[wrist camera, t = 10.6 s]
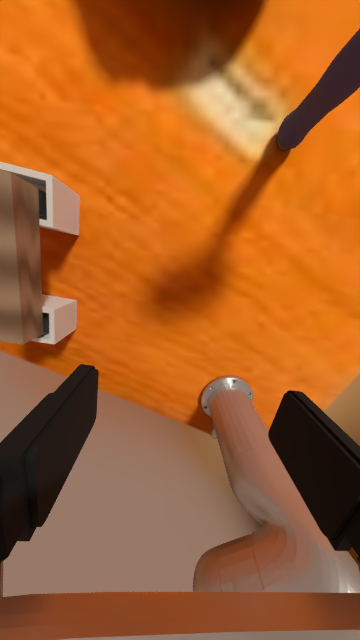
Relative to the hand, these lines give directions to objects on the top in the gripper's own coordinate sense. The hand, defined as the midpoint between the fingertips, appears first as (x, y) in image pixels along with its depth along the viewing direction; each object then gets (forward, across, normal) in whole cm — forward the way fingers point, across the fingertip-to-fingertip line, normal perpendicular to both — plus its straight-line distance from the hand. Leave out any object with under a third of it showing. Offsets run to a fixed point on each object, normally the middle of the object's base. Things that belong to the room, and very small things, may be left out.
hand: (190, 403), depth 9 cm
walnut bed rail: (+23, +22, -3) cm, 32 cm away
